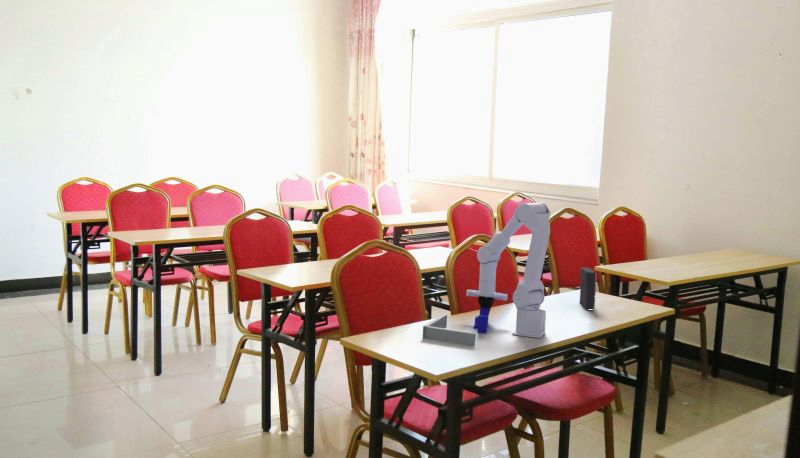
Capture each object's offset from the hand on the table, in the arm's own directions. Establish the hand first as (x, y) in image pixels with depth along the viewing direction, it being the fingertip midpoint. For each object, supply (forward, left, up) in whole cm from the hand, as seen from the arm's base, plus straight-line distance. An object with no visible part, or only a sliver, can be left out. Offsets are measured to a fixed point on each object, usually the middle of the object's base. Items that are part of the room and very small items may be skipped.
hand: (485, 317), depth 260 cm
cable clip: (-1, +10, -2) cm, 10 cm away
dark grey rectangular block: (-28, -44, -2) cm, 52 cm away
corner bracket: (+3, +22, -1) cm, 23 cm away
